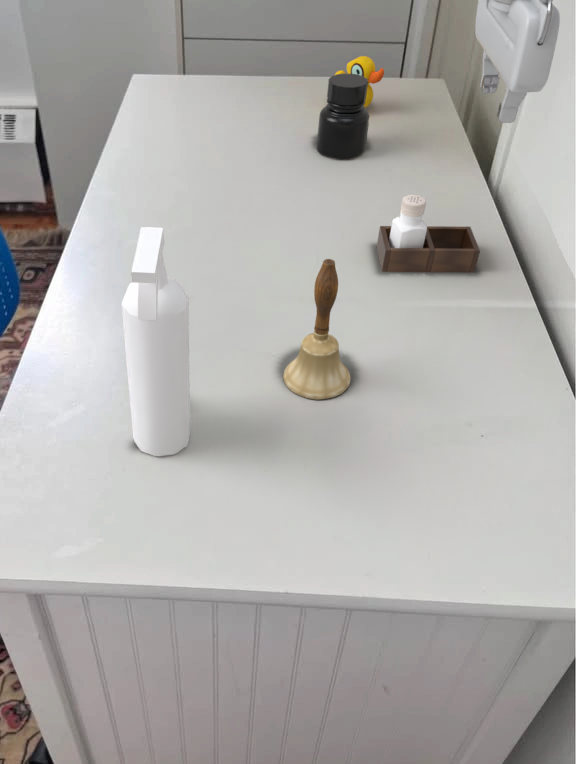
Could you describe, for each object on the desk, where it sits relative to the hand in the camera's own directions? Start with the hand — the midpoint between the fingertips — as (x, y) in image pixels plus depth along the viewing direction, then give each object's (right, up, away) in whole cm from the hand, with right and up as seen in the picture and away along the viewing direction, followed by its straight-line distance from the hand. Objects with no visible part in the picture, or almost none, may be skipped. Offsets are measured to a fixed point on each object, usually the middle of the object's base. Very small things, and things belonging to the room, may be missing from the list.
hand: (496, 105), depth 87 cm
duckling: (-6, +29, +58) cm, 66 cm away
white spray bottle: (-40, -40, -4) cm, 57 cm away
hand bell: (-22, -33, +2) cm, 40 cm away
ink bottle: (-11, +15, +46) cm, 50 cm away
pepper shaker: (-7, -14, +18) cm, 24 cm away
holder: (-4, -14, +18) cm, 24 cm away
